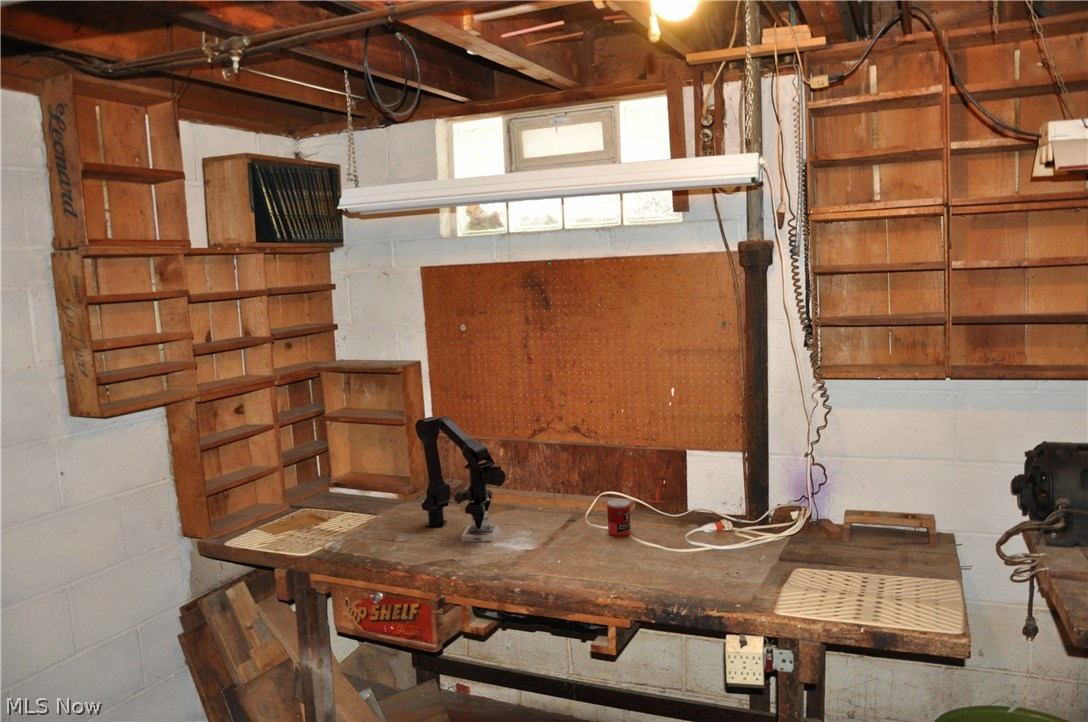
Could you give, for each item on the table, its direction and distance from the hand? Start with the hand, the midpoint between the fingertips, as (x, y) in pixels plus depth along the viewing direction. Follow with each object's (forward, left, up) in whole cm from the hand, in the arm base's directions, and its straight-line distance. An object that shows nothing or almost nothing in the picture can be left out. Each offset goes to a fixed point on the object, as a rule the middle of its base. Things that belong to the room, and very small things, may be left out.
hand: (480, 525), depth 278 cm
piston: (0, 0, -1) cm, 1 cm away
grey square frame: (+1, 0, -4) cm, 4 cm away
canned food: (-2, +48, -4) cm, 48 cm away
